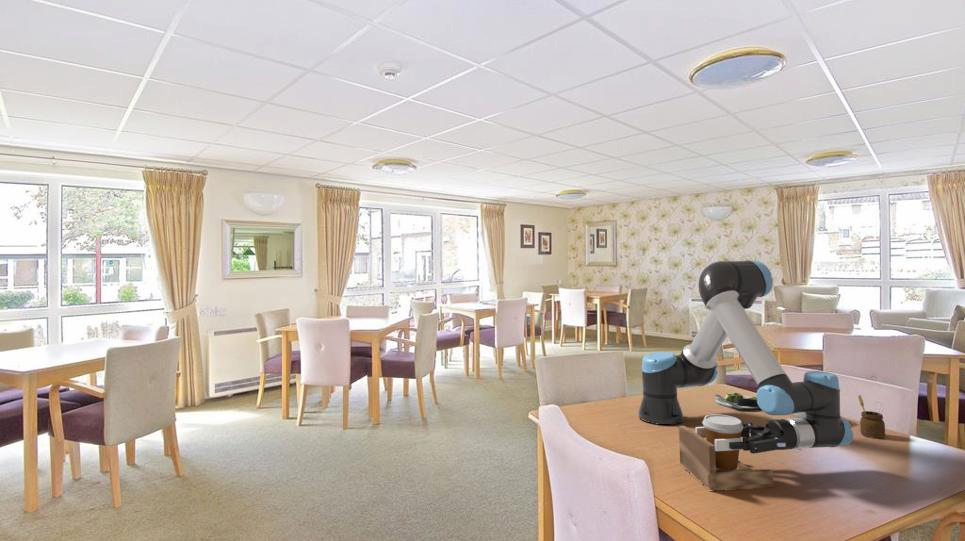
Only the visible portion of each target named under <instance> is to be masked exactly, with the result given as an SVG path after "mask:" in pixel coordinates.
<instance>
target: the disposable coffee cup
mask: <svg viewBox="0 0 965 541" xmlns="http://www.w3.org/2000/svg"><path fill="white" fill-rule="evenodd" d="M742 423H743V422H742V420H741V419H739V418H738V417H735V416H731V415H726V414H718V413H717V414H714V413H713V414H712V413H711V414H706V415H705V416H704V418H703V420H702V425H703V427H704V428H705V434H706V438H705V440H707V441H708V442H710V443H711V444H713V445H714V446H715V439H729V438H740V439H741V440H742V437H741V431H742V429H743V425H742ZM739 456H740V450H729V451H715V460H716V468H718V469H722V470H735V469H737V466H738V461H739Z"/></svg>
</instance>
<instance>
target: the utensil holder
mask: <svg viewBox="0 0 965 541" xmlns="http://www.w3.org/2000/svg"><path fill="white" fill-rule="evenodd" d="M857 397H858V401H859V405H860V406H861V407H862V410H863V411H861V413H860V415H861V417H860V419H859V423H860V424H859V425H860V426H859V428H860V429H859V430H860V434H861V435H862V436H864V435H865V436H864V437H866V436H868V437H867V438H870V437H873V438H872V439H876V438H882V439H884V438H885V437H886V425H885V424H886V423H885V421H884V420H883V419H884V416H883V413H881V412H883V411H884V410H883V409H884V408H882V410H881V407H882V402H880V401H877V402H874V405H876V406H873V407H872V408H873V411H871V410H865V407H864V406H865V403H864V400H863V397H862V395H861V394H860V395H859V394H858V395H857ZM878 405H880V406H879V407H880V408H879V410H878V411H880V410H881V412H877V411H874V409H875V410H877V408H878Z"/></svg>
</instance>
